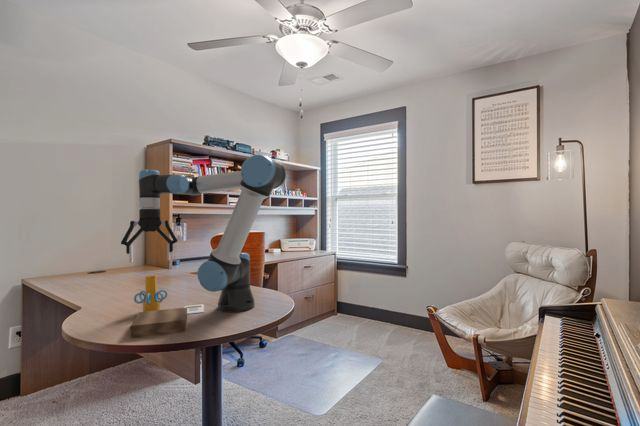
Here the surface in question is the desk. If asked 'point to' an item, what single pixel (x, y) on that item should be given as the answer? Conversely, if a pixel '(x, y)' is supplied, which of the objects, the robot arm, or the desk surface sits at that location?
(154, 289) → the yellow post with rings
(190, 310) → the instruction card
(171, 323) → the base block
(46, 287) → the desk surface
